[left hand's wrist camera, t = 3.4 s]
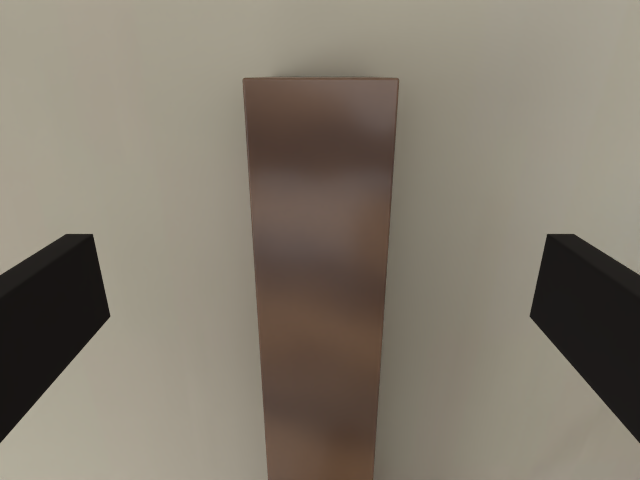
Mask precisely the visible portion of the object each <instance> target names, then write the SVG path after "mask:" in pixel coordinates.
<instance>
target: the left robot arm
mask: <svg viewBox="0 0 640 480" xmlns="http://www.w3.org/2000/svg"><path fill="white" fill-rule="evenodd" d="M109 317H110V312H109V308H108V303H107V298H106V294H105V289H104V284H103V280H102V275H101V270H100V266H99V261H98V256H97V252H96V247H95V242H94V238H93V234H66V235H64V236H62V237H61V238H59V239H58V240H56V241H54V242H53V243H51V244H50V245H48V246H46V247H45V248H43V249H42V250H40V251H38V252H37V253H35V254H34V255H32V256H30V257H29V258H27V259H26V260H24V261H22V262H21V263H19V264H18V265H16V266H14V267H13V268H11V269H10V270H8V271H6V272H5V273H3V274H2V275H0V443H1V442H2V440H3V439H4V438H5V437H6V436H7V435H8V434H9V432H10V431H11V430H12V429H13V428H14V427H15V425H16V424H17V423H18V422H19V421H20V420H21V419H22V417H23V416H24V415H25V414H26V413H27V412H28V411H29V409H30V408H31V407H32V406H33V405H34V404H35V403H36V401H37V400H38V399H39V398H40V397H41V396H42V394H43V393H44V392H45V391H46V390H47V389H48V388H49V386H50V385H51V384H52V383H53V382H54V381H55V380H56V378H57V377H58V376H59V375H60V374H61V373H62V371H63V370H64V369H65V368H66V367H67V366H68V365H69V363H70V362H71V361H72V360H73V359H74V358H75V357H76V355H77V354H78V353H79V352H80V351H81V350H82V348H83V347H84V346H85V345H86V344H87V343H88V342H89V340H90V339H91V338H92V337H93V336H94V335H95V334H96V332H97V331H98V330H99V329H100V328H101V327H102V326H103V324H104V323H105V322H106V321H107V320H108V319H109ZM530 317H531V319H532V320H533V321H534V322H535V323H536V324H537V326H538V327H539V328H540V329H541V330H542V331H543V332H544V334H545V335H546V336H547V337H548V338H549V339H550V340H551V342H552V343H553V344H554V345H555V346H556V347H557V348H558V350H559V351H560V352H561V353H562V354H563V355H564V357H565V358H566V359H567V360H568V361H569V362H570V363H571V365H572V366H573V367H574V368H575V369H576V370H577V371H578V373H579V374H580V375H581V376H582V377H583V378H584V380H585V381H586V382H587V383H588V384H589V385H590V386H591V388H592V389H593V390H594V391H595V392H596V393H597V394H598V396H599V397H600V398H601V399H602V400H603V401H604V403H605V404H606V405H607V406H608V407H609V408H610V409H611V411H612V412H613V413H614V414H615V415H616V416H617V417H618V419H619V420H620V421H621V422H622V423H623V424H624V426H625V427H626V428H627V429H628V430H629V431H630V432H631V434H632V435H633V436H634V437H635V438H636V439H637V440H638V442H639V443H640V275H638V274H637V273H635V272H634V271H632V270H630V269H629V268H627V267H626V266H624V265H622V264H621V263H619V262H618V261H616V260H614V259H613V258H611V257H610V256H608V255H606V254H605V253H603V252H602V251H600V250H598V249H597V248H595V247H594V246H592V245H590V244H589V243H587V242H586V241H584V240H582V239H581V238H579V237H578V236H576V235H574V234H547V238H546V242H545V247H544V252H543V256H542V261H541V266H540V270H539V275H538V280H537V284H536V289H535V294H534V298H533V303H532V308H531V312H530Z"/></svg>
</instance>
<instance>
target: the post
mask: <svg viewBox="0 0 640 480" xmlns="http://www.w3.org/2000/svg"><path fill="white" fill-rule="evenodd" d="M398 90H399V79H398V78H387V77H255V78H243V94H244V109H245V125H246V141H247V156H248V172H249V188H250V203H251V219H252V235H253V250H254V266H255V282H256V297H257V313H258V328H259V344H260V360H261V375H262V391H263V407H264V422H265V438H266V454H267V469H268V480H373V472H374V457H375V442H376V427H377V411H378V396H379V381H380V365H381V350H382V335H383V320H384V304H385V289H386V274H387V258H388V243H389V228H390V213H391V197H392V182H393V167H394V151H395V136H396V121H397V106H398Z"/></svg>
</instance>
